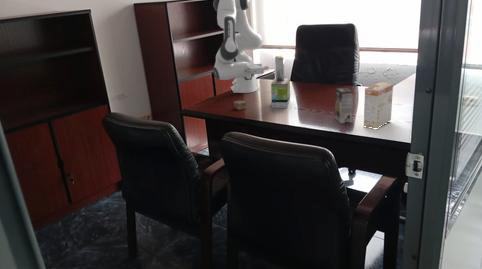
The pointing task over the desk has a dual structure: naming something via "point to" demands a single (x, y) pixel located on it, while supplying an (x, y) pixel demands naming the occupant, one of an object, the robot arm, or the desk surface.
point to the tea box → (280, 93)
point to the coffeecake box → (378, 104)
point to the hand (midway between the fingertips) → (264, 66)
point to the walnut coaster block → (240, 105)
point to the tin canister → (279, 68)
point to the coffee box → (343, 105)
